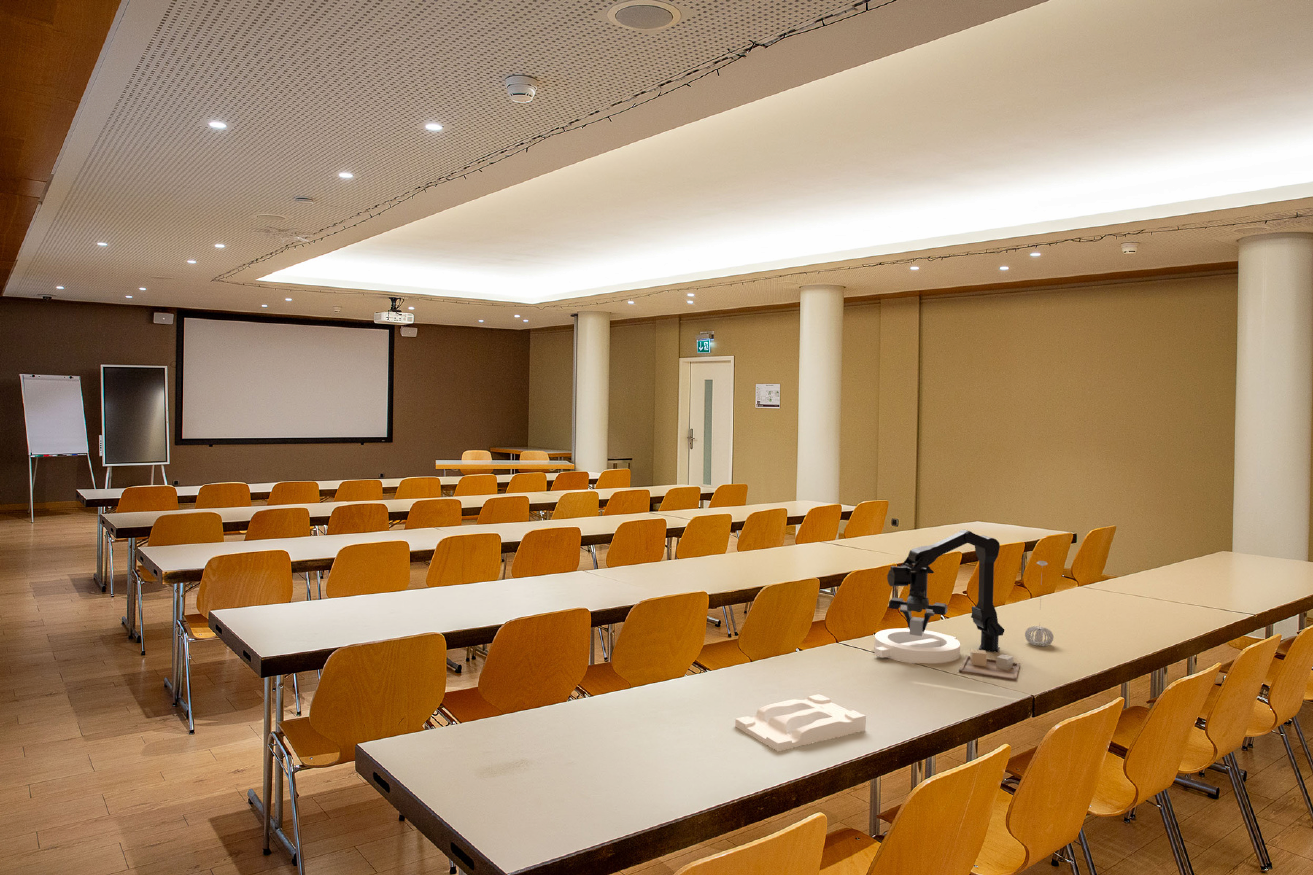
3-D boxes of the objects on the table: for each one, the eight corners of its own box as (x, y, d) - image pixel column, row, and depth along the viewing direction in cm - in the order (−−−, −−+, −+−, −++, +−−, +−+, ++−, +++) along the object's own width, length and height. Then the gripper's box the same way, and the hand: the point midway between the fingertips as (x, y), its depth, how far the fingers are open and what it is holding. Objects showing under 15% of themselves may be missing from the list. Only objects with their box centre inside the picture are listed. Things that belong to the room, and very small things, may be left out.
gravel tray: (966, 658, 281) (966, 655, 281) (1019, 666, 273) (1019, 663, 273) (958, 673, 265) (959, 670, 265) (1015, 682, 257) (1015, 678, 257)
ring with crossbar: (956, 645, 298) (956, 632, 298) (963, 669, 271) (963, 654, 271) (875, 638, 305) (875, 625, 305) (873, 660, 278) (874, 646, 278)
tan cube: (969, 661, 277) (970, 649, 277) (984, 662, 276) (984, 650, 276) (971, 664, 273) (972, 652, 273) (986, 665, 272) (986, 653, 272)
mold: (866, 732, 217) (866, 714, 217) (778, 753, 202) (778, 734, 202) (818, 710, 233) (819, 693, 232) (734, 728, 218) (734, 710, 218)
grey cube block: (912, 630, 291) (912, 616, 290) (924, 632, 289) (924, 618, 289) (909, 634, 286) (910, 619, 286) (921, 636, 284) (922, 621, 284)
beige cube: (1002, 664, 274) (1002, 654, 274) (1012, 667, 271) (1013, 656, 271) (995, 667, 271) (996, 656, 271) (1006, 670, 268) (1007, 659, 268)
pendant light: (1056, 649, 295) (1059, 564, 294) (1028, 647, 297) (1031, 563, 296) (1049, 641, 304) (1052, 559, 303) (1022, 639, 306) (1025, 558, 305)
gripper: (885, 587, 284) (884, 632, 285) (943, 593, 276) (941, 640, 276) (892, 581, 294) (891, 625, 295) (948, 587, 285) (946, 632, 286)
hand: (917, 630), depth 288 cm, fingers closed on grey cube block, 4 cm apart
